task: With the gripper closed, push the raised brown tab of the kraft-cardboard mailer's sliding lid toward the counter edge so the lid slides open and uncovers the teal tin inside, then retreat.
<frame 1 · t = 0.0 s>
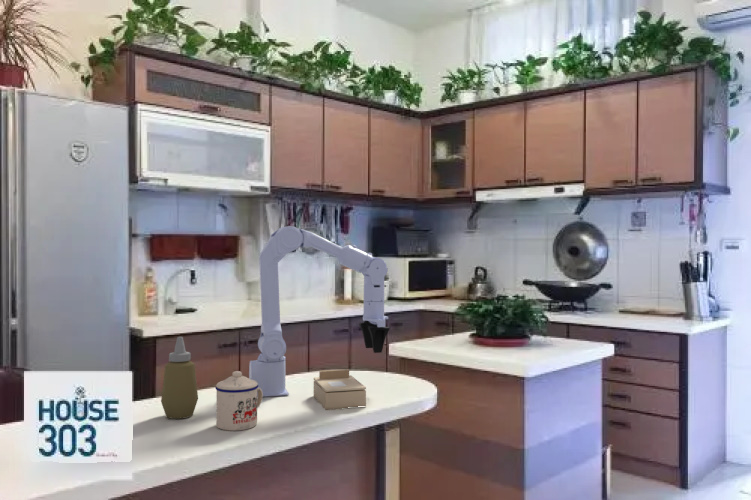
hand: (373, 350, 174), 10 cm above the counter, fingers open, 7 cm apart
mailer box: (338, 401, 158), on the counter
lid: (338, 379, 158), point 6 cm above the counter, slide at 0.0 cm
teacup with lid: (241, 424, 138), on the counter
squeeze bottle: (179, 416, 144), on the counter
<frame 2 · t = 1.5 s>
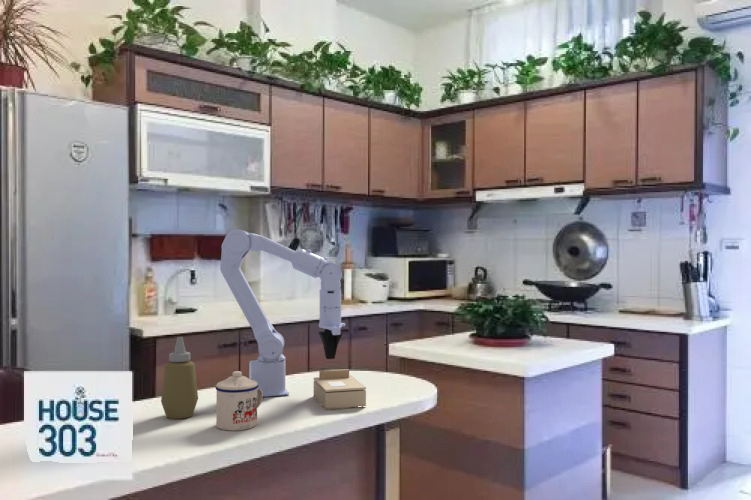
hand: (330, 358, 168), 9 cm above the counter, fingers closed
nothing on the counter moved.
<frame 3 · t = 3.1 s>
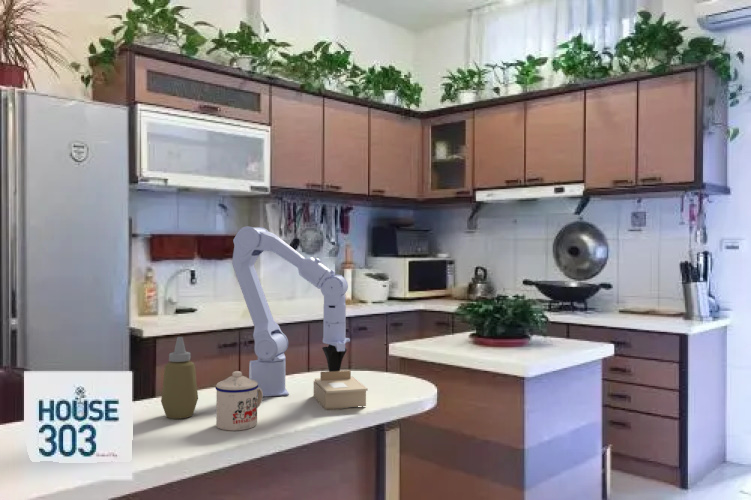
hand: (334, 374, 163), 6 cm above the counter, fingers closed
lid: (340, 380, 157), point 6 cm above the counter, slide at 1.4 cm, touching gripper
everything else where it was.
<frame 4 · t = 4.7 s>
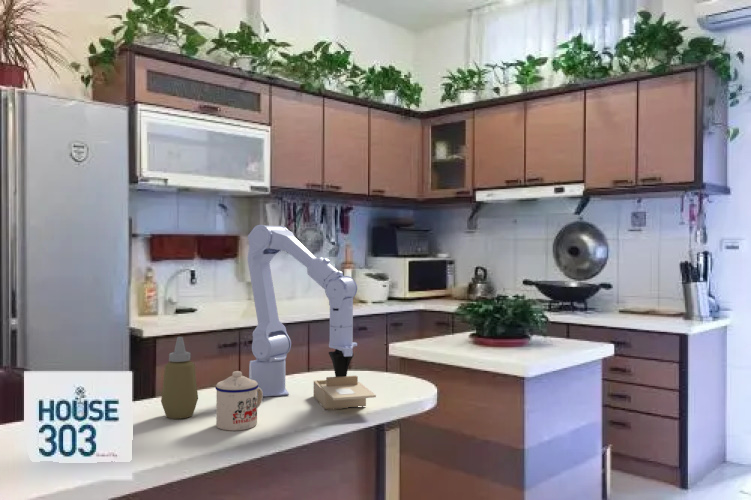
hand: (340, 380, 156), 6 cm above the counter, fingers closed
lid: (347, 386, 150), point 6 cm above the counter, slide at 8.1 cm, touching gripper
everything else where it was.
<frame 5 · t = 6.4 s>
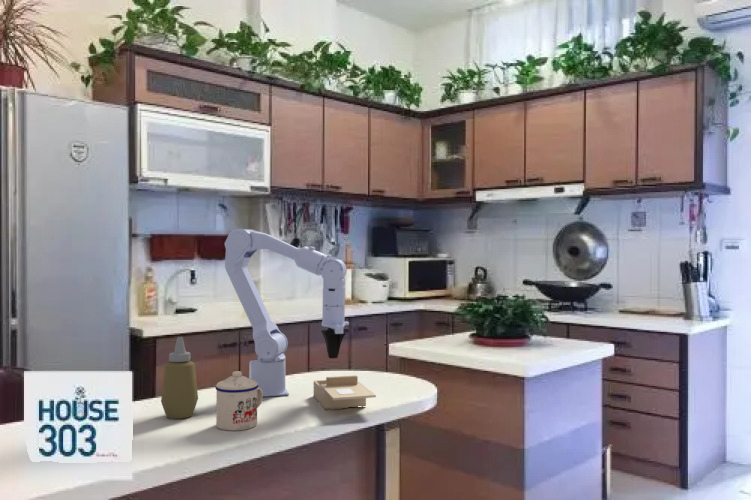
hand: (333, 357, 164), 10 cm above the counter, fingers closed
lid: (347, 386, 150), point 6 cm above the counter, slide at 8.0 cm
everything else where it was.
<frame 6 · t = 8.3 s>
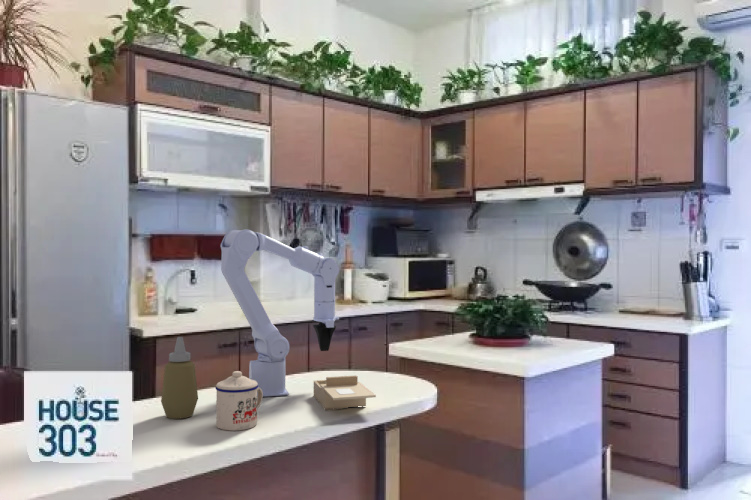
hand: (324, 350, 174), 10 cm above the counter, fingers closed
nothing on the counter moved.
at the end: lid slide at 8.0 cm; lid touching nothing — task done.
